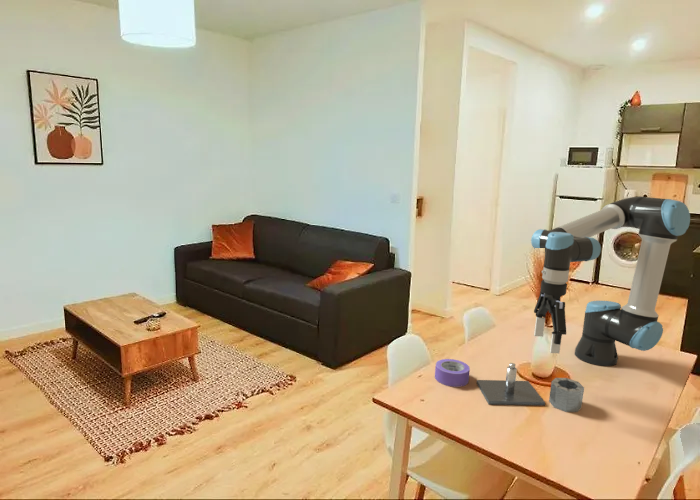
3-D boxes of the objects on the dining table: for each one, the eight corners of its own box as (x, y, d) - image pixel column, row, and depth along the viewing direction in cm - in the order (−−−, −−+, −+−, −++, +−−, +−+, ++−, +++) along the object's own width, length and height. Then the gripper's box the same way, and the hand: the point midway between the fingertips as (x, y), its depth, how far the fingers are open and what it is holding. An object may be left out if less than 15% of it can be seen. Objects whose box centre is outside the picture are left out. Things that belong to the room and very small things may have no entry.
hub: (571, 397, 155) (574, 378, 154) (585, 412, 147) (588, 391, 145) (545, 397, 155) (548, 377, 154) (557, 411, 146) (560, 391, 145)
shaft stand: (527, 384, 163) (531, 355, 161) (544, 405, 150) (548, 374, 147) (476, 383, 163) (479, 354, 161) (488, 404, 149) (491, 373, 147)
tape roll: (457, 369, 173) (458, 357, 172) (475, 384, 162) (476, 371, 161) (428, 373, 169) (429, 360, 168) (445, 389, 159) (446, 375, 158)
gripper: (528, 270, 161) (521, 329, 165) (558, 292, 136) (549, 360, 141) (550, 271, 161) (543, 330, 165) (584, 293, 136) (574, 361, 141)
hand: (546, 344), depth 153 cm, fingers open, 13 cm apart
